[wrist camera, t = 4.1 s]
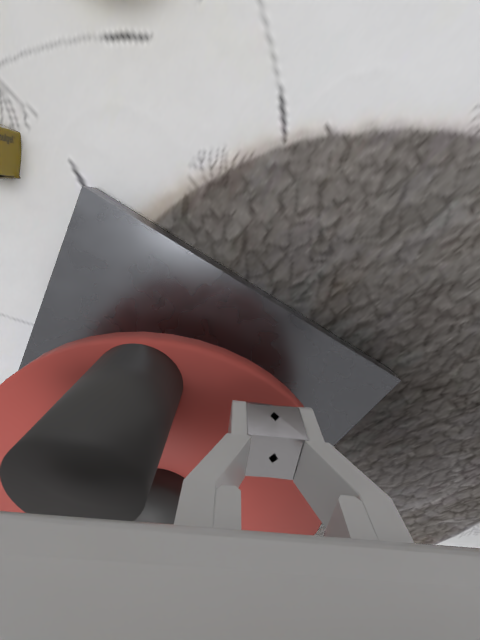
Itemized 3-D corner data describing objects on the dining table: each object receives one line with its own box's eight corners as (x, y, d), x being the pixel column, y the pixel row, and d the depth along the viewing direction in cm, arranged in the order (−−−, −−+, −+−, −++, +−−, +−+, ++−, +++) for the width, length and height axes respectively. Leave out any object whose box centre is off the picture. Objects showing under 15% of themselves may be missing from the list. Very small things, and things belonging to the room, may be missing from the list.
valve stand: (390, 369, 20) (446, 429, 15) (231, 529, 28) (228, 608, 23) (96, 188, 16) (15, 174, 10) (4, 440, 24) (-71, 511, 18)
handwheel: (303, 573, 20) (327, 718, 14) (40, 565, 20) (-42, 709, 14) (356, 338, 12) (454, 447, 7) (-70, 324, 12) (-345, 423, 7)
